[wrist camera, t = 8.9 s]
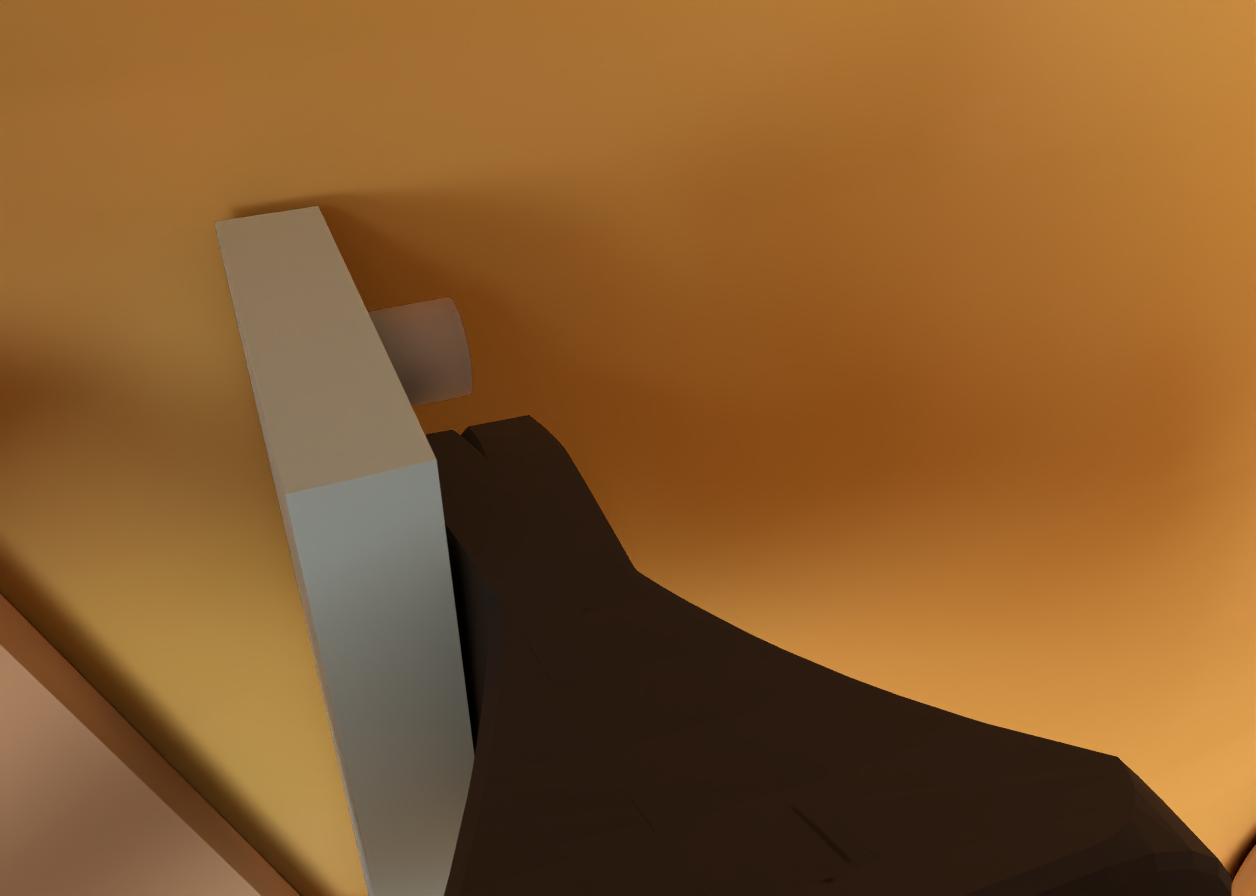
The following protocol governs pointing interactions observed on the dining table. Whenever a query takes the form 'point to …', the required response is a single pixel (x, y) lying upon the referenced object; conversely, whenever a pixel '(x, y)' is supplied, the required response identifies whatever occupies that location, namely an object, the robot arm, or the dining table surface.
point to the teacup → (1246, 877)
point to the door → (364, 529)
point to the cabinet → (100, 795)
